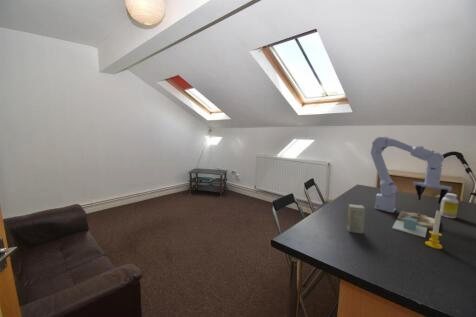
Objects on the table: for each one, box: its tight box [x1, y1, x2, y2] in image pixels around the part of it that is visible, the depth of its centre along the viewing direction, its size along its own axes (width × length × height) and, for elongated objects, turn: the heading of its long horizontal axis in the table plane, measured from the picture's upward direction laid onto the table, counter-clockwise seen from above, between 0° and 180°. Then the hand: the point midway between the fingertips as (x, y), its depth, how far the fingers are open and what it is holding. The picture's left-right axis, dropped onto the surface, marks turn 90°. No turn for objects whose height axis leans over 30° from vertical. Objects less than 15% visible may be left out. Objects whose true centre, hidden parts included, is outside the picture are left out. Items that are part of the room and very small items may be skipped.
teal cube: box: [403, 217, 417, 231], centre depth 99 cm, size 4×4×4 cm
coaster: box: [391, 219, 428, 239], centre depth 100 cm, size 12×12×1 cm
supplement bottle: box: [439, 192, 459, 219], centre depth 115 cm, size 7×7×13 cm
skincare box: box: [346, 203, 366, 234], centre depth 96 cm, size 6×4×12 cm
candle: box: [424, 210, 443, 250], centre depth 84 cm, size 5×5×16 cm
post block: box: [396, 210, 435, 230], centre depth 108 cm, size 16×14×5 cm
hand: (429, 201), depth 109 cm, fingers open, 7 cm apart
